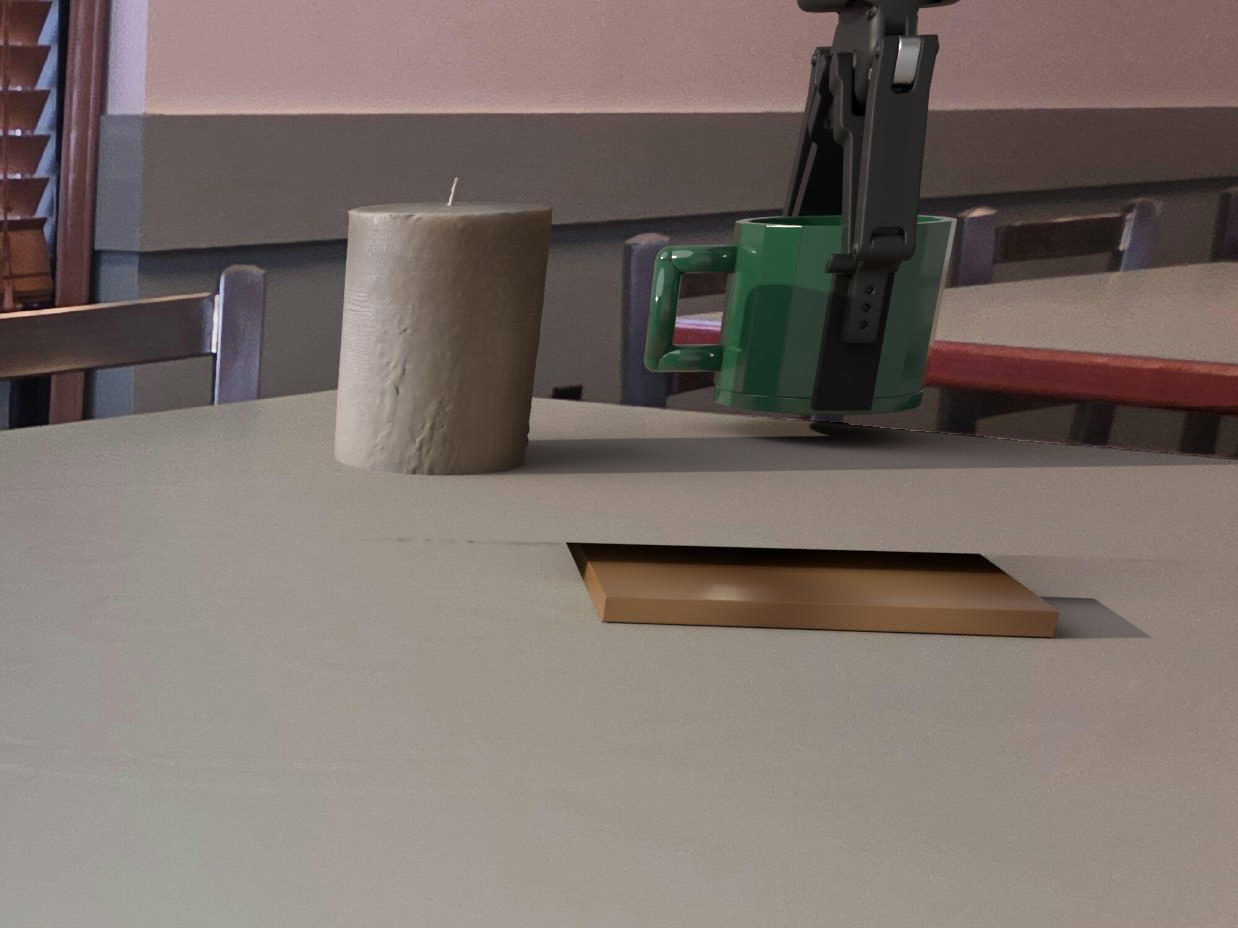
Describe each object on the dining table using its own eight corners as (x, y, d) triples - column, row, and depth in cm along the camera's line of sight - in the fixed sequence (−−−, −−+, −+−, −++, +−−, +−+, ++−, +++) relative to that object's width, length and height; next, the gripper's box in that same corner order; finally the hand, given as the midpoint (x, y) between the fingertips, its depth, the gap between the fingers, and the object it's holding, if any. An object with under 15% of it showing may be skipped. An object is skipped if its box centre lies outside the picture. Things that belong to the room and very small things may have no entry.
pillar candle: (548, 488, 90) (586, 174, 84) (481, 522, 83) (517, 181, 77) (373, 471, 95) (396, 173, 89) (296, 501, 88) (315, 180, 82)
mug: (891, 387, 96) (922, 212, 93) (945, 415, 87) (983, 222, 84) (626, 388, 99) (645, 218, 95) (652, 415, 90) (675, 229, 86)
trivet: (928, 541, 78) (933, 519, 78) (1053, 637, 64) (1060, 611, 64) (560, 531, 81) (562, 510, 81) (601, 621, 67) (605, 596, 66)
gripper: (761, -58, 94) (704, 367, 104) (870, -107, 74) (786, 428, 83) (910, -65, 93) (838, 366, 102) (1062, -117, 73) (956, 428, 82)
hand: (815, 394), depth 93 cm, fingers closed on mug, 10 cm apart
